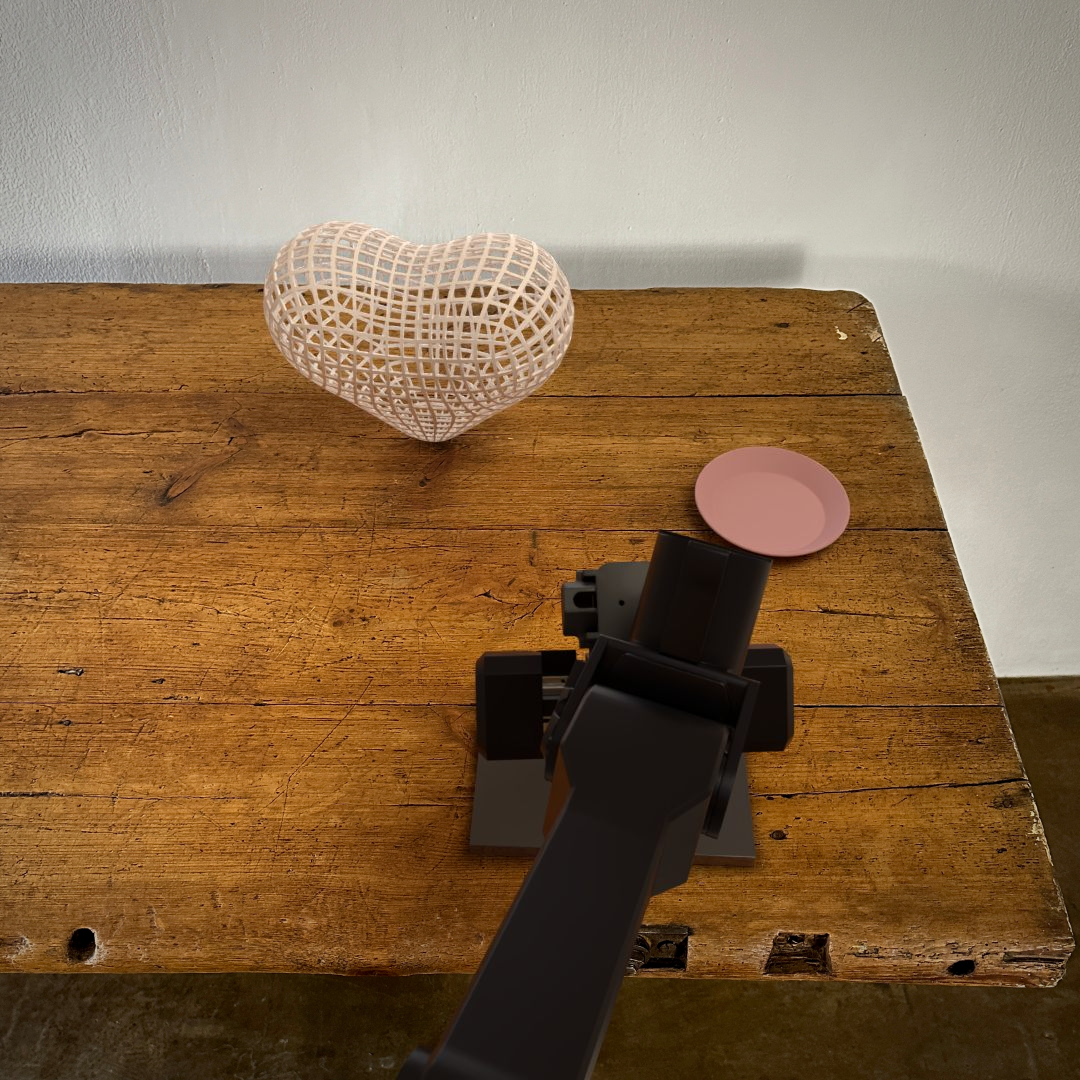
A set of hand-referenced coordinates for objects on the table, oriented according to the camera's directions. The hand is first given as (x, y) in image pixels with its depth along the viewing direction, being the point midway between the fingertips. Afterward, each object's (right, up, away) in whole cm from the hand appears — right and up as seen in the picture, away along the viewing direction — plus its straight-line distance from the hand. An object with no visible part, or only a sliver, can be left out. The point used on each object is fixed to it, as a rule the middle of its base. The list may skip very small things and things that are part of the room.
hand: (617, 676), depth 66 cm
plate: (+16, +12, +26) cm, 33 cm away
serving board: (0, -8, +7) cm, 11 cm away
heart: (-16, +20, +33) cm, 42 cm away
